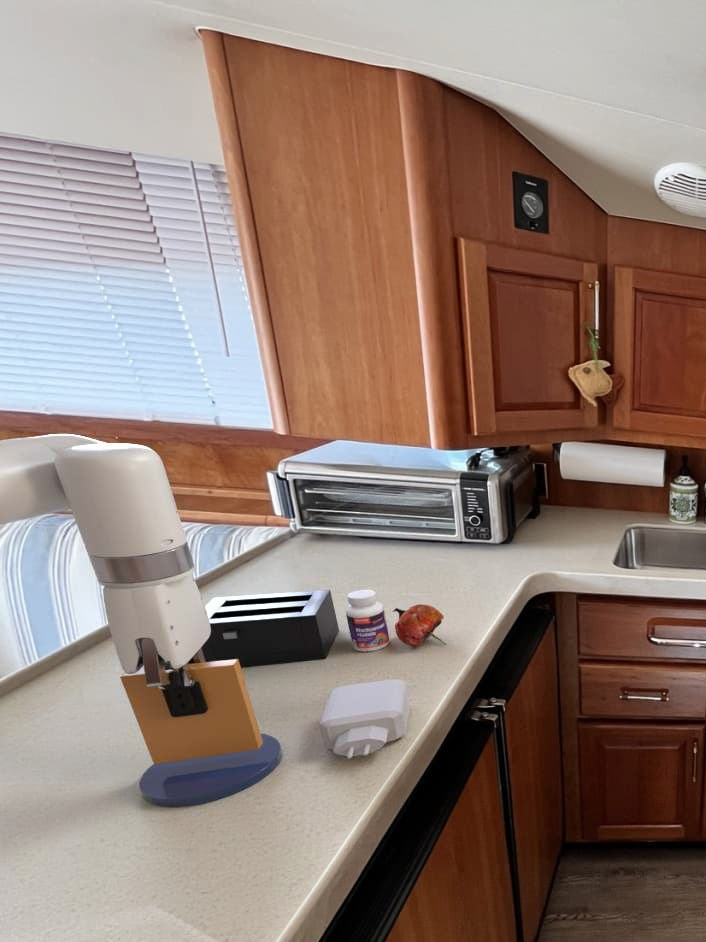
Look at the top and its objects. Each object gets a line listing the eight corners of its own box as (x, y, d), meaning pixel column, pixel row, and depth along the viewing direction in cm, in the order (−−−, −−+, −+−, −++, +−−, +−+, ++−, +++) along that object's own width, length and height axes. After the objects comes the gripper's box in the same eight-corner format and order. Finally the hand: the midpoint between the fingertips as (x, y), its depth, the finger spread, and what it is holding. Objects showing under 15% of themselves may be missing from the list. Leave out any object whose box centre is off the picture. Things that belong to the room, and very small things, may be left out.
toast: (153, 764, 75) (119, 676, 70) (159, 756, 76) (126, 669, 71) (259, 749, 79) (233, 664, 74) (263, 742, 80) (238, 658, 75)
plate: (119, 817, 70) (116, 809, 70) (169, 750, 81) (166, 742, 81) (265, 793, 76) (262, 785, 75) (294, 732, 86) (292, 725, 86)
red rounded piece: (452, 644, 117) (407, 609, 115) (467, 622, 113) (421, 585, 112) (422, 666, 110) (374, 629, 109) (437, 643, 107) (387, 604, 105)
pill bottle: (358, 655, 106) (347, 602, 103) (349, 644, 110) (337, 592, 106) (394, 646, 110) (385, 595, 106) (384, 635, 113) (374, 585, 110)
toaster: (199, 674, 97) (183, 627, 94) (226, 640, 107) (213, 597, 104) (324, 661, 104) (314, 617, 101) (339, 630, 114) (330, 589, 111)
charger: (316, 780, 78) (336, 716, 91) (403, 764, 82) (411, 704, 94) (308, 748, 76) (329, 687, 89) (397, 733, 80) (405, 677, 93)
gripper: (133, 542, 73) (181, 680, 80) (53, 593, 60) (119, 753, 67) (216, 538, 76) (255, 672, 83) (158, 586, 63) (210, 740, 70)
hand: (194, 707), depth 75 cm, fingers closed on toast, 1 cm apart
